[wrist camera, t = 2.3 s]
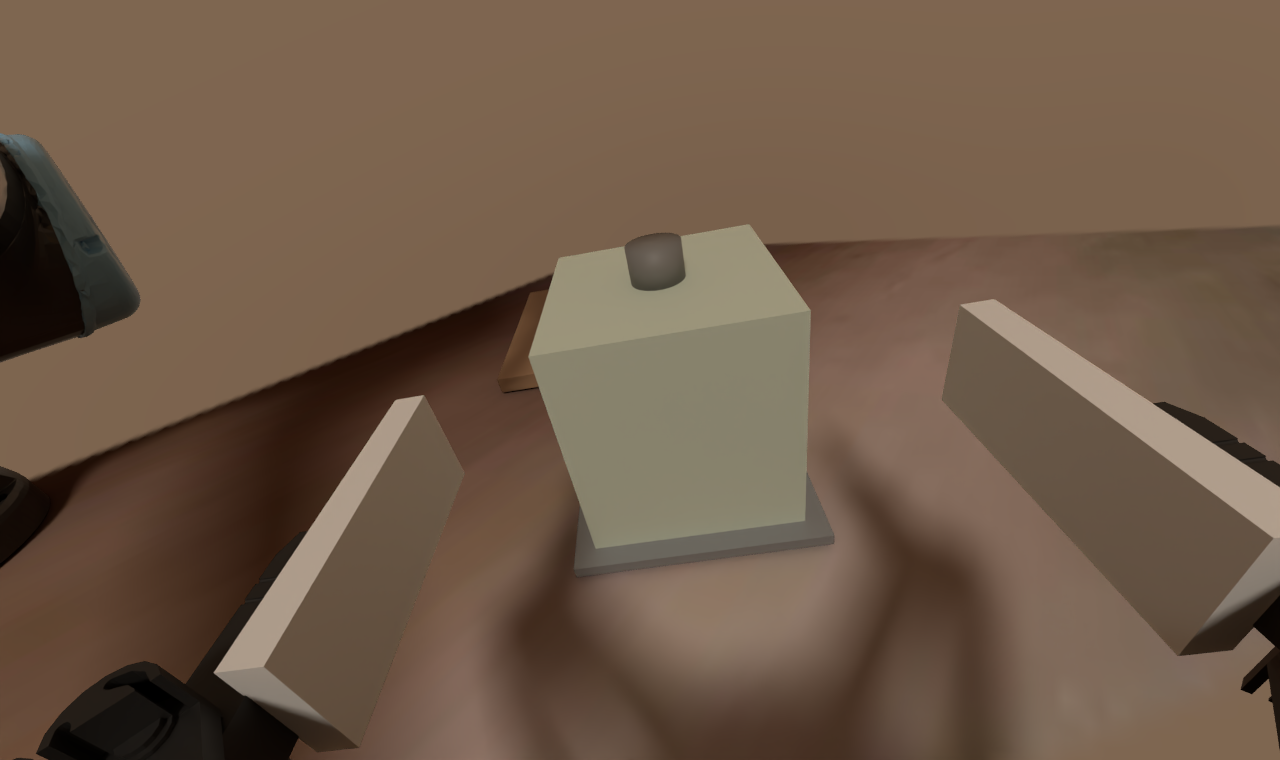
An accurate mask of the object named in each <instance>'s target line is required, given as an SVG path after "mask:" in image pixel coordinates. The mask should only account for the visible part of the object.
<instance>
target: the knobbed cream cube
mask: <svg viewBox="0 0 1280 760" xmlns="http://www.w3.org/2000/svg"><path fill="white" fill-rule="evenodd" d="M810 314H811V310H810V309H809V308H808V306H807V305H806V303H805V302H804V301H803V299H802V298H801V296H800V295H799V294H798V292H797V291H796V289H795V288H794V287H793V285H792V284H791V282H790V281H789V280H788V278H787V277H786V275H785V274H784V273H783V271H782V270H781V268H780V267H779V265H778V264H777V263H776V261H775V260H774V258H773V257H772V256H771V254H770V253H769V251H768V250H767V249H766V247H765V246H764V244H763V243H762V242H761V240H760V239H759V237H758V236H757V235H756V233H755V232H754V230H753V229H752V228H751V226H750V225H749V224H748V225H742V226H737V227H731V228H726V229H720V230H714V231H708V232H703V233H698V234H692V235H686V236H679V235H677V234H673V233H656V234H650V235H645V236H641V237H638V238H636V239H634V240H632V241H630V242H628V243H627V244H626V245H625V246H624V247H618V248H613V249H607V250H602V251H596V252H590V253H585V254H580V255H573V256H568V257H562V258H559V260H558V263H557V266H556V269H555V272H554V275H553V279H552V282H551V285H550V288H549V292H548V295H547V298H546V301H545V305H544V308H543V311H542V314H541V317H540V321H539V324H538V327H537V330H536V334H535V337H534V340H533V343H532V347H531V350H530V353H529V356H528V357H529V360H530V363H531V366H532V369H533V371H534V374H535V377H536V380H537V383H538V386H539V389H540V391H541V394H542V397H543V400H544V403H545V406H546V409H547V411H548V414H549V417H550V420H551V423H552V426H553V429H554V431H555V434H556V437H557V440H558V443H559V446H560V449H561V451H562V454H563V457H564V460H565V463H566V466H567V469H568V471H569V474H570V477H571V480H572V483H573V486H574V489H575V491H576V494H577V497H578V500H579V503H580V506H581V509H582V511H583V514H584V517H585V520H586V523H587V526H588V528H589V531H590V534H591V537H592V540H593V543H594V546H595V548H596V549H598V548H605V547H613V546H620V545H628V544H635V543H643V542H650V541H658V540H665V539H673V538H680V537H688V536H695V535H703V534H710V533H718V532H725V531H733V530H740V529H748V528H755V527H763V526H770V525H778V524H785V523H793V522H800V521H805V508H806V469H807V430H808V391H809V352H810Z"/></svg>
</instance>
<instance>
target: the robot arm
mask: <svg viewBox="0 0 1280 760" xmlns="http://www.w3.org/2000/svg"><path fill="white" fill-rule="evenodd" d="M139 304H140V295H139V292H138V290H137V288H136V286H135V285H134V283H133V281H132V279H131V278H130V276H129V275H128V273H127V271H126V270H125V268H124V267H123V265H122V263H121V262H120V260H119V259H118V257H117V256H116V254H115V252H114V251H113V249H112V248H111V246H110V245H109V243H108V242H107V240H106V238H105V237H104V235H103V234H102V232H101V231H100V230H99V228H98V226H97V225H96V223H95V222H94V220H93V219H92V217H91V216H90V214H89V213H88V211H87V210H86V208H85V207H84V205H83V204H82V202H81V201H80V199H79V198H78V196H77V195H76V193H75V192H74V191H73V189H72V187H71V186H70V184H69V183H68V181H67V180H66V178H65V177H64V176H63V174H62V172H61V171H60V169H59V168H58V167H57V165H56V164H55V162H54V161H53V159H52V158H51V157H50V155H49V154H48V152H47V151H46V150H45V149H44V147H43V146H42V145H41V144H40V143H39V142H38V141H37V140H35V139H33V138H31V137H28V136H25V135H19V134H17V135H5V134H1V133H0V362H3V361H6V360H9V359H12V358H15V357H18V356H20V355H23V354H26V353H29V352H33V351H35V350H38V349H41V348H45V347H48V346H51V345H54V344H57V343H60V342H63V341H66V340H69V339H72V338H76V337H78V338H82V337H87V336H89V335H90V334H92V333H93V332H94V330H96V329H99V328H102V327H104V326H107V325H109V324H112V323H114V322H117V321H120V320H122V319H125V318H127V317H129V316H131V315H132V314H133V313H134V312H135V311H136V310H137V309H138V307H139ZM942 401H943V402H944V403H945V404H946V405H947V406H948V407H949V408H950V409H951V410H952V411H953V412H954V414H955V415H956V416H957V417H958V418H959V419H960V420H961V421H962V422H963V423H964V424H965V425H966V427H967V428H968V429H969V430H970V431H971V432H972V433H973V434H974V435H975V436H976V437H977V439H978V440H979V441H980V442H981V443H982V444H983V445H984V446H985V447H986V448H987V449H988V450H989V452H990V453H991V454H992V455H993V456H994V457H995V458H996V459H997V460H998V461H999V462H1000V463H1001V465H1002V466H1003V467H1004V468H1005V469H1006V470H1007V471H1008V472H1009V473H1010V474H1011V475H1012V477H1013V478H1014V479H1015V480H1016V481H1017V482H1018V483H1019V484H1020V485H1021V486H1022V487H1023V488H1024V490H1025V491H1026V492H1027V493H1028V494H1029V495H1030V496H1031V497H1032V498H1033V499H1034V500H1035V501H1036V503H1037V504H1038V505H1039V506H1040V507H1041V508H1042V509H1043V510H1044V511H1045V512H1046V513H1047V515H1048V516H1049V517H1050V518H1051V519H1052V520H1053V521H1054V522H1055V523H1056V524H1057V525H1058V526H1059V528H1060V529H1061V530H1062V531H1063V532H1064V533H1065V534H1066V535H1067V536H1068V537H1069V538H1070V539H1071V541H1072V542H1073V543H1074V544H1075V545H1076V546H1077V547H1078V548H1079V549H1080V550H1081V551H1082V553H1083V554H1084V555H1085V556H1086V557H1087V558H1088V559H1089V560H1090V561H1091V562H1092V563H1093V564H1094V566H1095V567H1096V568H1097V569H1098V570H1099V571H1100V572H1101V573H1102V574H1103V575H1104V576H1105V577H1106V579H1107V580H1108V581H1109V582H1110V583H1111V584H1112V585H1113V586H1114V587H1115V588H1116V589H1117V591H1118V592H1119V593H1120V594H1121V595H1122V596H1123V597H1124V598H1125V599H1126V600H1127V601H1128V602H1129V604H1130V605H1131V606H1132V607H1133V608H1134V609H1135V610H1136V611H1137V612H1138V613H1139V614H1140V615H1141V617H1142V618H1143V619H1144V620H1145V621H1146V622H1147V623H1148V624H1149V625H1150V626H1151V627H1152V629H1153V630H1154V631H1155V632H1156V633H1157V634H1158V635H1159V636H1160V637H1161V638H1162V639H1163V640H1164V642H1165V643H1166V644H1167V645H1168V646H1169V647H1170V648H1171V649H1172V650H1173V651H1174V652H1175V653H1176V655H1177V656H1184V655H1193V654H1202V653H1211V652H1220V651H1229V650H1233V649H1234V648H1235V647H1236V646H1237V645H1238V644H1239V643H1240V642H1241V640H1242V639H1243V638H1244V637H1245V636H1246V635H1247V634H1248V633H1249V632H1250V631H1251V630H1252V628H1253V627H1255V628H1256V629H1257V630H1258V631H1259V632H1260V633H1261V634H1262V635H1264V636H1265V637H1266V638H1267V639H1268V640H1269V641H1270V642H1271V643H1272V644H1273V645H1275V647H1274V648H1273V649H1272V650H1271V651H1270V652H1269V653H1268V654H1267V655H1266V656H1265V657H1264V658H1263V659H1262V660H1261V661H1260V662H1259V663H1258V664H1257V665H1256V666H1255V667H1254V668H1253V669H1252V670H1251V671H1250V672H1249V673H1248V674H1247V675H1246V676H1245V677H1244V678H1243V682H1242V686H1241V690H1243V691H1245V692H1248V693H1250V694H1253V693H1254V692H1255V691H1256V690H1257V689H1258V688H1259V687H1260V686H1261V685H1262V684H1263V683H1264V682H1265V681H1266V680H1267V679H1269V682H1270V689H1271V695H1272V696H1271V697H1270V698H1269V701H1270V702H1272V703H1273V709H1274V715H1275V722H1276V728H1277V735H1278V741H1279V748H1280V465H1279V464H1278V463H1276V462H1275V461H1267V460H1266V458H1265V457H1266V456H1265V455H1263V454H1262V453H1260V452H1259V451H1257V450H1255V449H1254V448H1252V447H1251V446H1249V445H1247V444H1246V443H1239V442H1238V440H1237V439H1238V438H1236V437H1235V436H1233V435H1231V434H1230V433H1228V432H1227V431H1225V430H1223V429H1222V428H1220V427H1219V426H1217V425H1215V424H1214V423H1212V422H1211V421H1209V420H1207V419H1206V418H1204V417H1201V416H1199V415H1196V414H1194V413H1191V412H1189V411H1186V410H1184V409H1181V408H1178V407H1176V406H1173V405H1171V404H1168V403H1166V402H1160V403H1153V404H1152V403H1151V402H1149V401H1148V400H1146V399H1145V398H1143V397H1142V396H1140V395H1139V394H1137V393H1136V392H1134V391H1133V390H1131V389H1130V388H1128V387H1127V386H1125V385H1124V384H1122V383H1121V382H1119V381H1118V380H1116V379H1115V378H1113V377H1112V376H1110V375H1108V374H1107V373H1105V372H1104V371H1102V370H1101V369H1099V368H1098V367H1096V366H1095V365H1093V364H1092V363H1090V362H1089V361H1087V360H1086V359H1084V358H1083V357H1081V356H1080V355H1078V354H1077V353H1075V352H1074V351H1072V350H1071V349H1069V348H1068V347H1066V346H1064V345H1063V344H1061V343H1060V342H1058V341H1057V340H1055V339H1054V338H1052V337H1051V336H1049V335H1048V334H1046V333H1045V332H1043V331H1042V330H1040V329H1039V328H1037V327H1036V326H1034V325H1033V324H1031V323H1030V322H1028V321H1027V320H1025V319H1024V318H1022V317H1020V316H1019V315H1017V314H1016V313H1014V312H1013V311H1011V310H1010V309H1008V308H1007V307H1005V306H1004V305H1002V304H1001V303H999V302H998V301H996V300H995V299H992V300H986V301H980V302H974V303H968V304H963V305H960V307H959V313H958V318H957V323H956V328H955V333H954V338H953V343H952V348H951V354H950V359H949V364H948V369H947V374H946V379H945V384H944V389H943V395H942ZM464 474H465V473H464V471H463V469H462V467H461V465H460V463H459V461H458V459H457V458H456V456H455V454H454V452H453V450H452V448H451V446H450V444H449V442H448V440H447V438H446V436H445V434H444V432H443V431H442V429H441V427H440V425H439V423H438V421H437V419H436V417H435V415H434V413H433V411H432V409H431V407H430V406H429V404H428V402H427V400H426V398H425V396H424V395H422V396H416V397H410V398H405V399H399V400H395V402H394V403H393V405H392V406H391V408H390V409H389V411H388V412H387V414H386V415H385V417H384V418H383V420H382V421H381V423H380V424H379V426H378V427H377V429H376V430H375V432H374V433H373V435H372V436H371V438H370V439H369V441H368V442H367V444H366V445H365V447H364V448H363V450H362V451H361V453H360V454H359V456H358V457H357V459H356V460H355V462H354V463H353V465H352V466H351V468H350V469H349V471H348V472H347V474H346V475H345V477H344V478H343V480H342V481H341V483H340V484H339V486H338V487H337V489H336V490H335V492H334V493H333V495H332V496H331V498H330V499H329V501H328V502H327V504H326V505H325V507H324V508H323V510H322V511H321V513H320V514H319V516H318V517H317V519H316V520H315V522H314V523H313V525H312V526H311V528H310V529H309V531H305V532H300V533H299V534H298V535H297V536H296V537H294V538H293V539H292V540H291V541H290V542H289V543H288V544H287V545H286V546H285V547H284V548H283V549H282V550H281V551H279V552H278V553H277V554H276V556H275V557H274V558H273V560H272V561H271V563H270V564H269V566H268V567H267V568H266V570H265V571H264V573H263V574H262V576H261V577H260V578H259V580H260V582H259V584H255V586H254V587H253V588H252V590H251V591H250V593H249V594H248V596H247V597H246V598H245V604H243V605H241V606H240V607H239V608H238V610H237V611H236V613H235V614H234V616H233V617H232V618H231V620H230V621H229V623H228V624H227V626H226V627H225V628H224V630H223V631H222V633H221V634H220V636H219V637H218V638H217V640H216V641H215V643H214V644H213V646H212V647H211V648H210V650H209V651H208V653H207V654H206V656H205V657H204V658H203V660H202V661H201V663H200V664H199V666H198V667H197V668H196V670H195V671H194V673H193V674H192V676H191V677H190V678H189V680H188V681H187V683H186V684H184V683H182V682H181V681H179V680H178V679H177V678H175V677H174V676H172V675H171V674H170V673H168V672H167V671H165V670H164V669H163V668H161V667H160V666H158V665H157V664H154V663H150V662H146V661H144V662H139V663H135V664H131V665H127V666H125V667H123V668H121V669H119V670H117V671H115V672H113V673H111V674H109V675H107V676H105V677H104V678H103V679H101V680H100V681H98V682H97V683H96V684H94V685H93V686H91V687H90V688H89V689H87V690H86V691H84V692H83V693H82V694H81V695H80V696H79V697H78V698H77V699H76V700H74V701H73V702H72V703H71V704H70V705H69V706H68V707H67V708H66V709H65V710H64V711H63V712H62V713H61V714H60V715H59V717H58V718H57V719H56V720H55V722H54V723H53V724H52V726H51V727H50V728H49V729H48V731H47V732H46V733H45V735H44V737H43V739H42V741H41V744H40V746H39V748H38V750H37V753H36V754H38V755H40V756H42V757H44V758H46V759H48V760H291V759H290V758H289V756H290V754H291V752H292V750H293V748H294V746H295V744H296V742H297V739H298V738H299V739H301V740H302V741H303V742H305V743H306V744H307V745H309V746H310V747H311V748H313V749H314V750H315V751H316V752H324V751H333V750H342V749H351V748H359V747H360V744H361V742H362V739H363V736H364V734H365V731H366V729H367V726H368V723H369V721H370V718H371V716H372V713H373V710H374V708H375V705H376V703H377V700H378V697H379V695H380V692H381V690H382V687H383V684H384V682H385V679H386V677H387V674H388V671H389V669H390V666H391V664H392V661H393V658H394V656H395V653H396V651H397V648H398V645H399V643H400V640H401V638H402V635H403V632H404V630H405V627H406V624H407V622H408V619H409V617H410V614H411V611H412V609H413V606H414V604H415V601H416V598H417V596H418V593H419V591H420V588H421V585H422V583H423V580H424V578H425V575H426V572H427V570H428V567H429V565H430V562H431V559H432V557H433V554H434V552H435V549H436V546H437V544H438V541H439V539H440V536H441V533H442V531H443V528H444V526H445V523H446V520H447V518H448V515H449V513H450V510H451V507H452V505H453V502H454V500H455V497H456V494H457V492H458V489H459V487H460V484H461V481H462V479H463V476H464ZM49 506H50V499H49V497H48V495H46V494H45V493H44V492H43V491H42V490H40V489H39V488H38V487H37V486H35V485H34V484H33V483H32V482H30V481H29V480H28V479H27V478H26V477H24V476H22V475H20V474H19V473H17V472H14V471H12V470H9V469H6V468H4V467H1V466H0V563H1V562H3V561H4V560H5V559H6V558H7V557H9V556H10V555H11V554H12V553H13V552H14V551H15V550H16V549H17V548H18V547H20V546H21V545H22V544H23V543H24V542H25V541H26V540H27V539H28V538H29V537H30V535H31V534H32V533H33V532H34V531H35V530H36V529H37V527H38V526H39V525H40V523H41V522H42V521H43V519H44V518H45V516H46V514H47V512H48V510H49ZM14 760H33V759H26V758H16V759H14Z"/></svg>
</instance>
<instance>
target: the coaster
mask: <svg viewBox="0 0 1280 760" xmlns="http://www.w3.org/2000/svg"><path fill="white" fill-rule="evenodd" d="M830 544H834V533H833V531H832V529H831V526H830V524H829V522H828V520H827V517H826V515H825V513H824V510H823V508H822V506H821V503H820V501H819V499H818V496H817V494H816V492H815V489H814V487H813V485H812V482H811V480H810V478H809V476H808V473H807V471H806V508H805V521H800V522H793V523H785V524H778V525H770V526H763V527H755V528H748V529H740V530H733V531H725V532H718V533H710V534H703V535H695V536H688V537H680V538H673V539H665V540H658V541H650V542H643V543H635V544H628V545H620V546H613V547H605V548H598V549H596V548H595V546H594V543H593V540H592V537H591V534H590V531H589V528H588V526H587V523H586V520H585V517H584V514H583V511H582V509H581V506H580V509H579V519H578V529H577V540H576V550H575V560H574V572H575V574H576V577H583V576H591V575H598V574H606V573H614V572H622V571H629V570H637V569H645V568H652V567H660V566H668V565H676V564H683V563H691V562H699V561H706V560H714V559H722V558H730V557H737V556H745V555H753V554H761V553H768V552H776V551H784V550H791V549H799V548H807V547H815V546H822V545H830Z"/></svg>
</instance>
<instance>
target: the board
mask: <svg viewBox="0 0 1280 760" xmlns="http://www.w3.org/2000/svg"><path fill="white" fill-rule="evenodd" d="M548 292H549V290H544V291H538V292H532V293H530V295H529V298H528V300H527V303H526V305H525V308H524V311H523V313H522V316H521V319H520V321H519V324H518V326H517V329H516V332H515V334H514V337H513V339H512V342H511V345H510V347H509V350H508V353H507V355H506V358H505V360H504V363H503V366H502V368H501V371H500V373H499V376H498V379H497V381H498V383H499V386H500V388H501V391H502V392H509V391H515V390H521V389H528V388H534V387H539V386H538V383H537V380H536V377H535V374H534V371H533V369H532V366H531V363H530V360H529V357H528V356H529V353H530V350H531V347H532V343H533V340H534V337H535V334H536V330H537V327H538V324H539V321H540V317H541V314H542V311H543V308H544V305H545V301H546V298H547V295H548Z"/></svg>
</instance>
